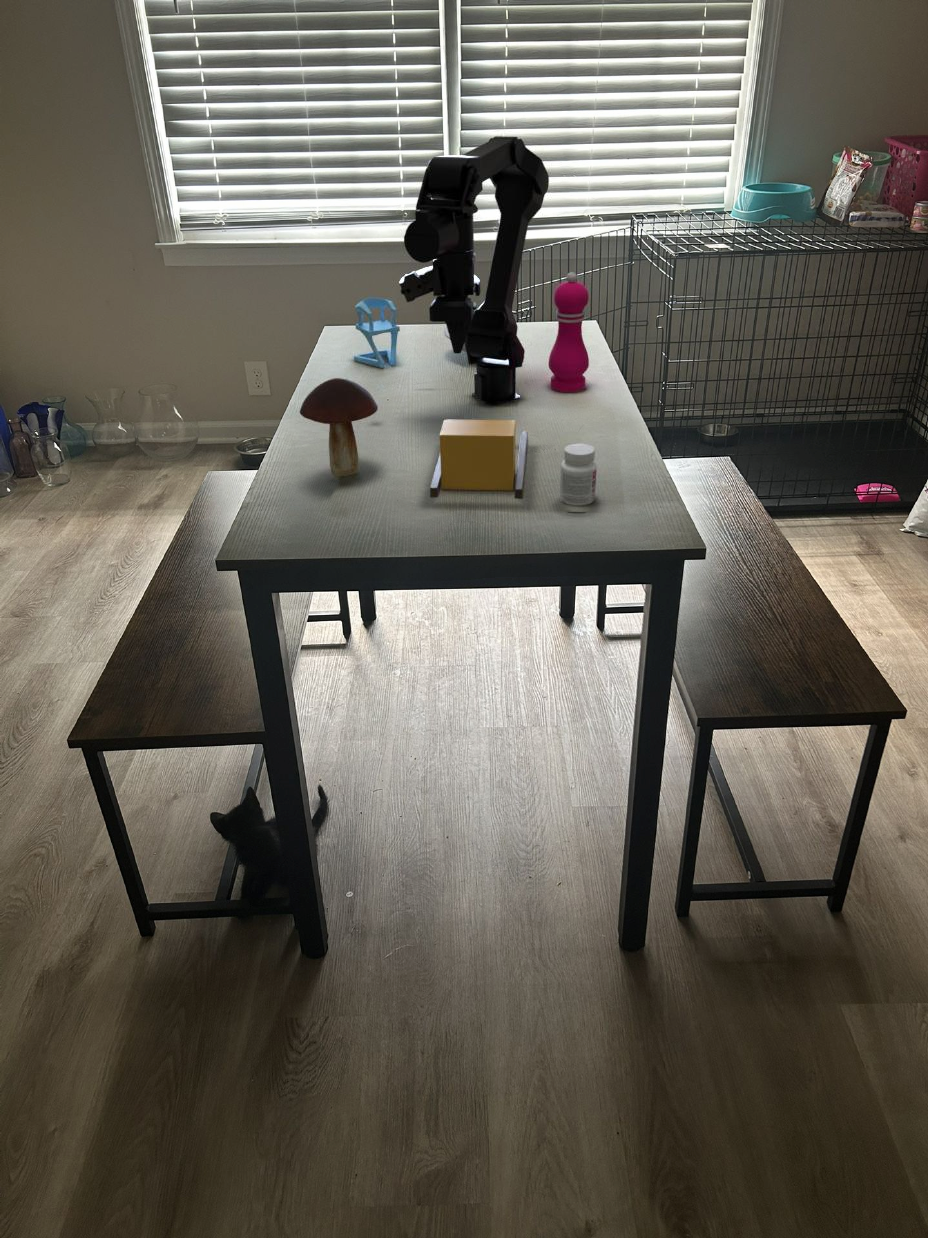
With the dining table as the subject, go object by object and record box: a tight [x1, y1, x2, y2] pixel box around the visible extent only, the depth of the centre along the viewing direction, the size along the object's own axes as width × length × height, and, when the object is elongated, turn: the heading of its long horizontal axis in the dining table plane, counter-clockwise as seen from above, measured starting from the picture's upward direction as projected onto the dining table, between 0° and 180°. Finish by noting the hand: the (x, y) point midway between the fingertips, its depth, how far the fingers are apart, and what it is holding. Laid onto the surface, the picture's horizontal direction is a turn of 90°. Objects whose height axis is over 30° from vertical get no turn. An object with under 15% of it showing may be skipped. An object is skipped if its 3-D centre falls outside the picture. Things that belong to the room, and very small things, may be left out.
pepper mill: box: [547, 271, 590, 393], centre depth 167 cm, size 7×7×20 cm
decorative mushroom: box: [299, 377, 379, 480], centre depth 135 cm, size 11×11×15 cm
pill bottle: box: [559, 443, 598, 515], centre depth 127 cm, size 5×5×8 cm
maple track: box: [429, 431, 529, 499], centre depth 138 cm, size 22×14×3 cm, turn 175°
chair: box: [353, 296, 401, 369], centre depth 184 cm, size 8×8×12 cm
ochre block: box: [439, 419, 517, 492], centre depth 132 cm, size 6×10×8 cm, turn 85°
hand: (457, 352), depth 150 cm, fingers closed
